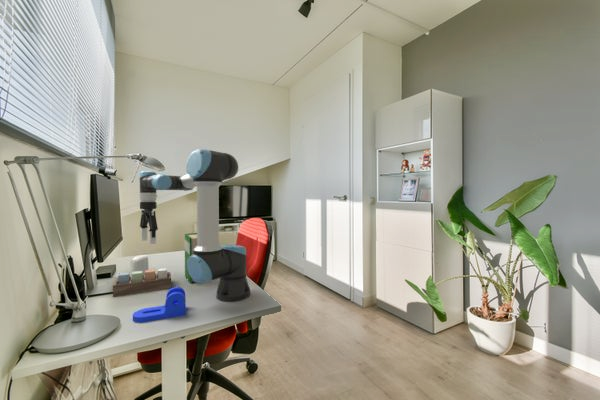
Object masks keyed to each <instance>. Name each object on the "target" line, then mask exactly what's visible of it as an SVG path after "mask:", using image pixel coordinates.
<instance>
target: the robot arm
mask: <svg viewBox="0 0 600 400" xmlns="http://www.w3.org/2000/svg"><path fill="white" fill-rule="evenodd" d="M185 169H186V174H183V175H170V174H169V175H167V174H161V173H160V174H159V173H158V174H157V172H155V171H149V170H142V171H141V172H139V201H140V202H139V209H140V210H141V216H140V222H139V228H140V229H141V230H140V231H141V232H140V233H141V236H140V237H141V238H140V241H141V242H143V241H148V232H149V245H154V244H155V245H156V244H157V230H159V228H158V223H157V214H156V211H153V210H156V209H157V207H158V206H157V202H156V201H157V197H158V195H157V191H185V192H186V191H187V192H188V191H193V189H194V188H196V233H197V246H196V247H195V248H194V249H193V255H192V256H190V257H189V258H188V260H187V270H188V273H189V275H190V276H191V278H192V279H193V280H194V282H195V283H198V284H203V283H210V282H211V281H215V280H217V279H220V280H219V281H218V282H219V283H218V286H217V289H216V292H215V294H216V299H218V300H219V301H223V302H237V301H241V300H245V299H248V298H249V297H250V295H251V287H250V285H249V282H248V279H247V249H246V247H245V246H243V245H237V244H220V238H219V237H220V225H219V224H220V223H219V222H220V220H219V219H220V213H219V212H220V210H219V209H220V206H219V205H220V203H219V202H220V200H219V199H220V196H219V195H220V194H219V193H220V191H219V189H220V188H219V187H221V185H222V184H223V182H224V181H227V180H231V179H233V178H234V177H236V176H237V174H238V172H239V163H238V161H237V159H236V158H235V156H233V155H232V154H229V153H226V152H221V151H217V150H216V151H215V150H211V149H202V148H201V149H200V148H199V149H195V150H193V151H192V152H191V153H190V155H189V156H188V158H187V161H186V165H185ZM148 228H149V229H148Z"/></svg>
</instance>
